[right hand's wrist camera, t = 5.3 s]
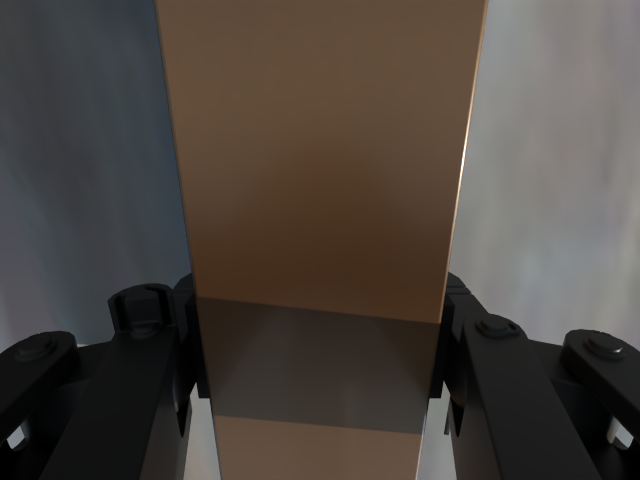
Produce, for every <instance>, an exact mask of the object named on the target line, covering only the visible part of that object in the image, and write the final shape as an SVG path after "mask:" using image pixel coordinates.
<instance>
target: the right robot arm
mask: <svg viewBox="0 0 640 480" xmlns="http://www.w3.org/2000/svg"><path fill="white" fill-rule="evenodd" d="M108 305H109V309H110V313H111V317H112V321H113V325H114V329H115V334H114V336H113V338H112V340H111V341H108V342H104V343H99V344H94V345H88V346H83V347H77V344H76V340H75V337H74V335H72V334H71V333H70V332H64V331H53V332H43V333H40V334H36V335H32V336H30V337H28V338H27V339H24V340H22V341H19V342H17V343H16V344H14V345H12V346H11V347H9V348H8V349H6V350H5V351H3V352H2V353H1V354H0V480H183V477H184V470H185V462H186V454H187V447H188V439H189V431H190V424H191V416H192V407H191V400H190V394H191V392H192V389H193V387H194V385H195V383H197V389H198V396H199V398H209V391H208V384H207V377H206V370H205V362H204V355H203V348H202V341H201V334H200V327H199V320H198V313H197V306H196V299H195V292H194V284H193V277H192V273H190V274H189V275H187V276H185V277H184V278H182V279H181V280H180V281H179V282H178V283H177V284H176V286H175V287H174V289H171V288H170V287H169V286H167V285H163V284H159V283H153V284H142V285H136V286H133V287H130V288H127V289H124V290H122V291H120V292H118V293H116V294H114V295H113V296H112V297H111V298H110V299H109V300H108ZM443 381H444V382H445V384H446V386H447V388H448V390H449V393H450V400H449V406H448V412H447V418H446V424H445V430H444V434H445V435H449V431H451V438H452V446H453V454H454V461H455V469H456V476H457V480H640V352H639V351H638V350H637V349H635V348H634V347H632V346H631V345H629V344H627V343H626V342H624V341H623V340H620V339H618V338H616V337H613V336H612V335H610V334H607V333H604V332H602V333H601V332H600V331H595V330H584V329H578V330H571V331H570V332H568V333H567V334H566V336H565V339H564V343H563V346H560V345H555V344H549V343H544V342H539V341H534V340H530V339H528V338H527V336H526V334H525V332H524V331H523V330H522V329H521V327H520V326H519V325H517V324H516V323H514V322H512V321H511V320H509V319H506V318H504V317H501V316H499V315H494V314H489V313H488V312H487V311H486V310H485V308H484V307H483V306H482V305H481V304H480V302H479V301H478V300H477V299H476V298H475V296H474V295H472V293H471V292H470V290H469V289H468V288H466V286H465V284H464V283H463V282H462V281H461V280H460V278H458V277H457V276H455V275H453V274H452V273H450V272H448V276H447V283H446V290H445V297H444V303H443V310H442V317H441V324H440V330H439V337H438V344H437V351H436V357H435V364H434V371H433V378H432V384H431V391H430V398H441V394H442V388H443ZM620 424H621V425H622V426H623V427H624V428H625V429H626V430H627V431H628V432H629V433H630V434H631V435H632V436H633V437H634V438H633V441H632V443H631V445H630V447H629V448H627V447H626V446H625V445H624V444H623V443H622V442H621V441H620V440H619V439H618V438H617V437H616V436H615V435H616V433H617V431H618V428H619V426H620ZM19 426H21V429H22V431H23V434H24V436H25V438H24V439H23V440H22V441H21V442H20V443H19V444H18V445H17V446H16V447H14V448H13V449H11V448H10V446H9V444H8V441H7V438H8V437H9V436H10V435H11V434H12V433H13V432H14V431H15V430H16V429H17V428H18V427H19Z"/></svg>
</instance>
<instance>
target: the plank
mask: <svg viewBox="0 0 640 480" xmlns="http://www.w3.org/2000/svg"><path fill="white" fill-rule="evenodd" d="M153 1H154V8H155V15H156V22H157V29H158V36H159V43H160V50H161V57H162V64H163V72H164V79H165V86H166V93H167V100H168V107H169V114H170V121H171V128H172V135H173V143H174V150H175V157H176V164H177V171H178V178H179V185H180V192H181V199H182V206H183V213H184V221H185V228H186V235H187V242H188V249H189V256H190V263H191V270H192V277H193V284H194V292H195V299H196V306H197V313H198V320H199V327H200V334H201V341H202V348H203V355H204V362H205V370H206V377H207V384H208V391H209V398H210V405H211V412H212V419H213V426H214V433H215V441H216V448H217V455H218V462H219V469H220V476H221V480H417V479H418V472H419V465H420V458H421V452H422V445H423V438H424V431H425V425H426V418H427V411H428V404H429V398H430V391H431V384H432V378H433V371H434V364H435V357H436V351H437V344H438V337H439V330H440V324H441V317H442V310H443V303H444V297H445V290H446V283H447V276H448V270H449V263H450V256H451V250H452V243H453V236H454V229H455V223H456V216H457V209H458V202H459V196H460V189H461V182H462V175H463V169H464V162H465V155H466V148H467V142H468V135H469V128H470V122H471V115H472V108H473V101H474V95H475V88H476V81H477V74H478V68H479V61H480V54H481V47H482V41H483V34H484V27H485V20H486V14H487V7H488V0H153Z"/></svg>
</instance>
